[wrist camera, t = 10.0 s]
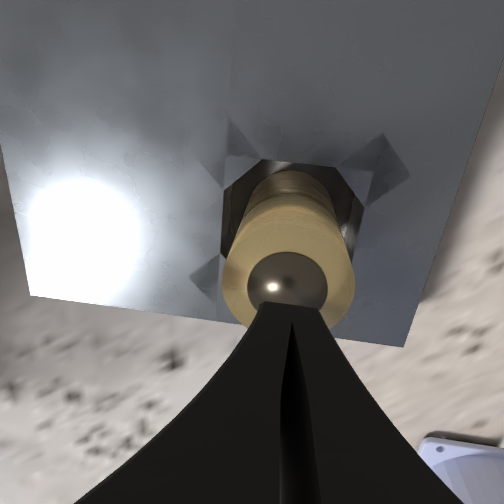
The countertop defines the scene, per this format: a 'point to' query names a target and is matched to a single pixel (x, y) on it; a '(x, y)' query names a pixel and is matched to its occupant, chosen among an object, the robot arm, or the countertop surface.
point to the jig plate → (236, 138)
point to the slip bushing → (289, 251)
